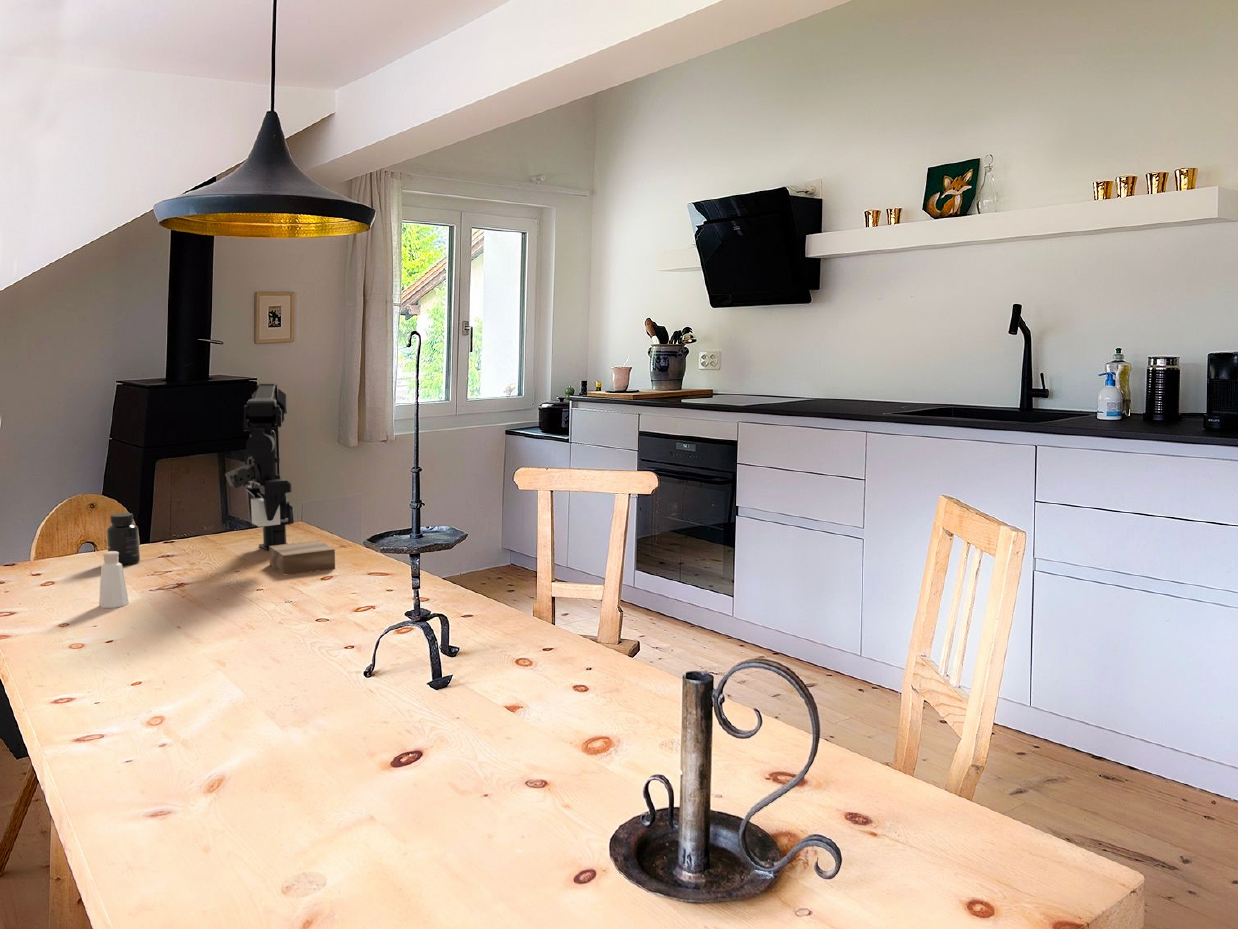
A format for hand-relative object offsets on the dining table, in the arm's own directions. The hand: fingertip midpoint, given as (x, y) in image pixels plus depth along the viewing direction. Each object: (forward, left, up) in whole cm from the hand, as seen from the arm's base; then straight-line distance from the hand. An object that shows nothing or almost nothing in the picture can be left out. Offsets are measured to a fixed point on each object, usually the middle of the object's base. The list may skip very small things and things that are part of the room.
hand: (266, 518), depth 225 cm
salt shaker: (+12, -36, -12) cm, 40 cm away
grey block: (0, 0, -1) cm, 1 cm away
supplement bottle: (-26, -25, -12) cm, 38 cm away
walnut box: (+4, +7, -12) cm, 15 cm away
